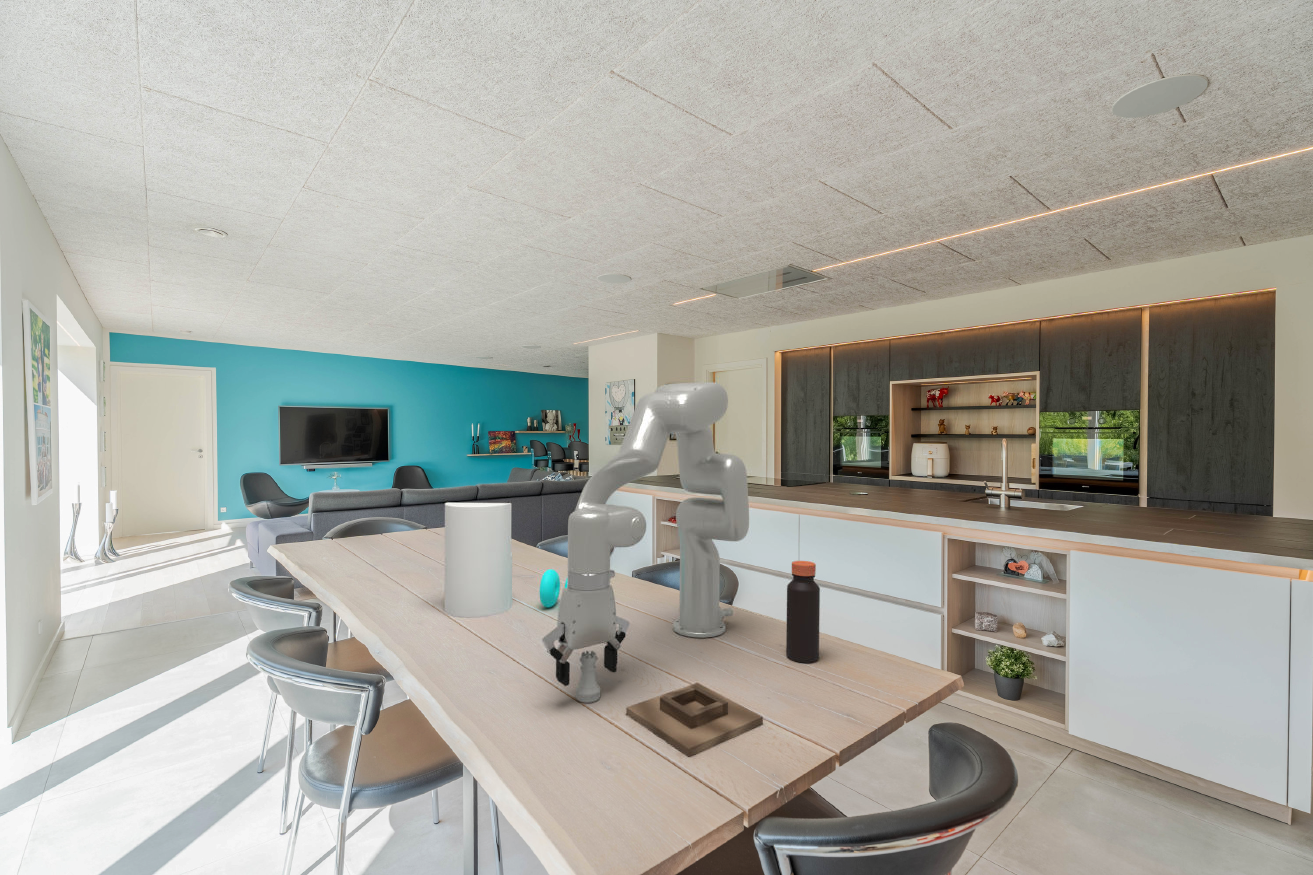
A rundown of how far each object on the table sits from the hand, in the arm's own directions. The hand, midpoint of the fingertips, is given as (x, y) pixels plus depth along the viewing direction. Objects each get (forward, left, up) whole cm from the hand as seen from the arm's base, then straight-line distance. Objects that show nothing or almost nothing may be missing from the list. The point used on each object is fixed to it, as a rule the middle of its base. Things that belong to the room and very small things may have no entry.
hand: (587, 676), depth 104 cm
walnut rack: (-10, +17, -4) cm, 20 cm away
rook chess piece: (0, 0, -4) cm, 4 cm away
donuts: (-22, -50, -4) cm, 55 cm away
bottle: (-46, +11, -4) cm, 48 cm away
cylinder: (-4, -63, -4) cm, 63 cm away
